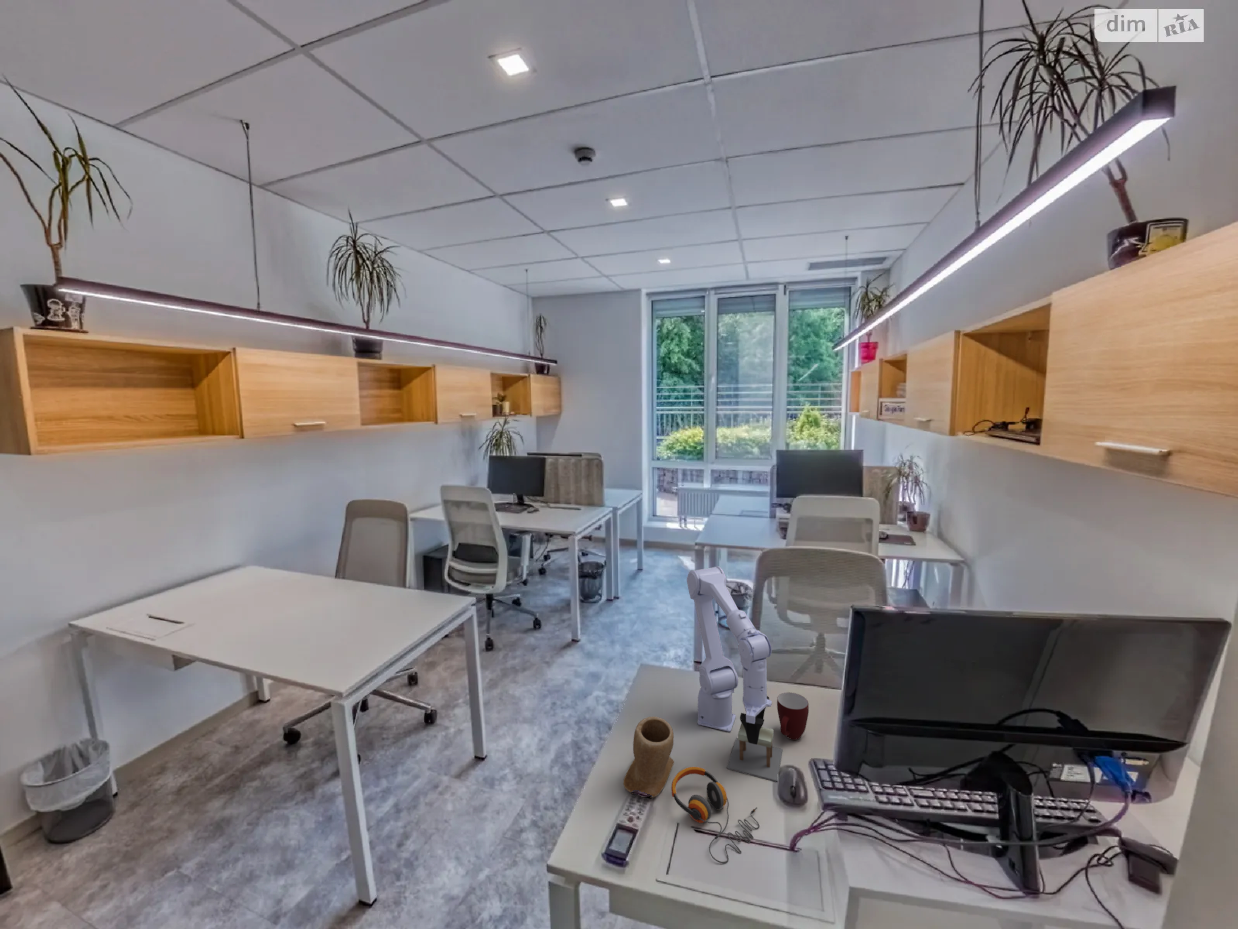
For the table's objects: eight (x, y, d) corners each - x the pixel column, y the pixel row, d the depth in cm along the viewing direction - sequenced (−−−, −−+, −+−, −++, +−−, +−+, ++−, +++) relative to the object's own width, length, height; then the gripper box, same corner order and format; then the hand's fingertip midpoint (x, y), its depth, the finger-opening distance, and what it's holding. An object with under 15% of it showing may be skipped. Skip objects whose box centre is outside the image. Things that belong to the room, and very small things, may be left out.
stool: (771, 768, 120) (770, 741, 119) (738, 759, 123) (737, 734, 122) (773, 755, 124) (773, 729, 123) (742, 747, 127) (741, 722, 127)
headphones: (726, 860, 93) (655, 782, 107) (721, 880, 94) (651, 801, 109) (775, 813, 104) (704, 748, 118) (770, 832, 105) (700, 765, 120)
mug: (801, 754, 125) (801, 718, 124) (770, 743, 129) (770, 708, 128) (811, 732, 133) (811, 697, 132) (782, 722, 138) (782, 689, 137)
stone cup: (664, 809, 109) (662, 747, 107) (617, 793, 114) (615, 733, 113) (686, 765, 122) (684, 709, 121) (642, 752, 128) (641, 698, 126)
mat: (727, 768, 121) (727, 767, 120) (736, 739, 131) (736, 737, 131) (777, 782, 116) (777, 780, 115) (782, 750, 126) (782, 748, 126)
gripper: (767, 701, 113) (767, 756, 115) (774, 671, 126) (775, 720, 128) (737, 695, 116) (737, 748, 117) (747, 666, 129) (748, 714, 131)
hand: (755, 733), depth 123 cm, fingers open, 7 cm apart
